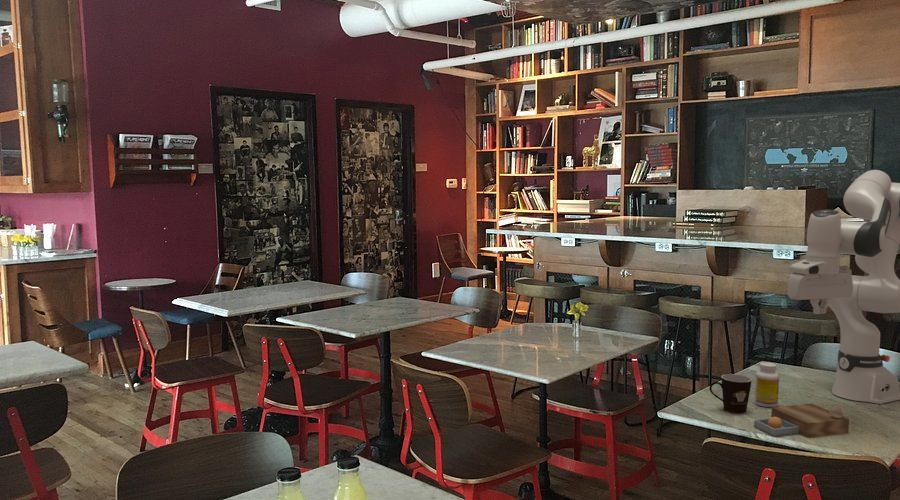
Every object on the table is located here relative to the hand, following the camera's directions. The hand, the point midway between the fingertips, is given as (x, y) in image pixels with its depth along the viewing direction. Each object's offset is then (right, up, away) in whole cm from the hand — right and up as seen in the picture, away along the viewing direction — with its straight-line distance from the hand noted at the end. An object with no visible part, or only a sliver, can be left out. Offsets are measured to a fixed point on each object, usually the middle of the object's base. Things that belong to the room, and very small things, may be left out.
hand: (819, 313), depth 212 cm
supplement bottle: (-9, -30, +15) cm, 35 cm away
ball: (-16, -30, -8) cm, 35 cm away
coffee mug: (-22, -30, +11) cm, 39 cm away
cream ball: (0, -26, -9) cm, 28 cm away
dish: (-16, -32, -7) cm, 36 cm away
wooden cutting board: (-5, -32, -4) cm, 32 cm away
